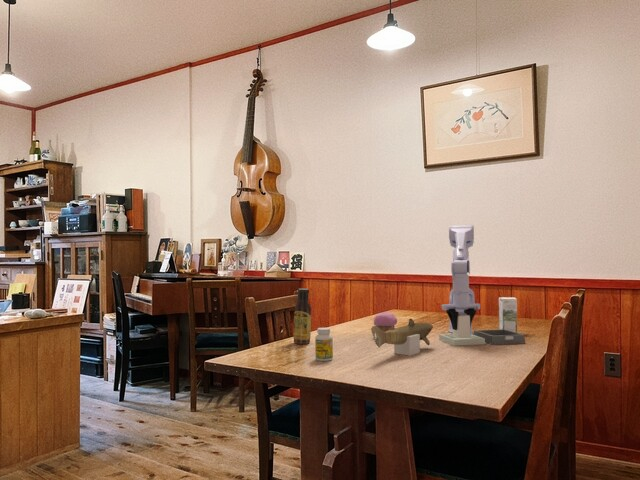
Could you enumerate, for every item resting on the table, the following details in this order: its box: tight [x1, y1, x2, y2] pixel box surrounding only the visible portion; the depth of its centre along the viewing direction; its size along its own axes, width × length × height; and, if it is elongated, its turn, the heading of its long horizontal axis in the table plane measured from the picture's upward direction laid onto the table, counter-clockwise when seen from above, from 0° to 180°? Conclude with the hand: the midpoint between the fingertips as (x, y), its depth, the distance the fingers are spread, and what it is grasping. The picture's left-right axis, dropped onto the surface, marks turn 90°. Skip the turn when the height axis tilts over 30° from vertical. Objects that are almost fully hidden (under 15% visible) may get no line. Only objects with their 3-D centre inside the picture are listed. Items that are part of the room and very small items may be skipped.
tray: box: [438, 333, 486, 347], centre depth 180 cm, size 12×12×2 cm
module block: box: [452, 313, 470, 338], centre depth 180 cm, size 4×4×9 cm
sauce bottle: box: [292, 288, 312, 345], centre depth 179 cm, size 7×6×20 cm
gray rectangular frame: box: [473, 328, 526, 346], centre depth 182 cm, size 14×13×3 cm
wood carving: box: [370, 318, 434, 357], centre depth 160 cm, size 9×35×11 cm, turn 138°
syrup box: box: [498, 296, 518, 333], centre depth 199 cm, size 6×6×14 cm
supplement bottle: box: [314, 327, 334, 362], centre depth 152 cm, size 5×5×10 cm
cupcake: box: [373, 311, 398, 332], centre depth 189 cm, size 9×9×10 cm
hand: (461, 329), depth 180 cm, fingers open, 5 cm apart
